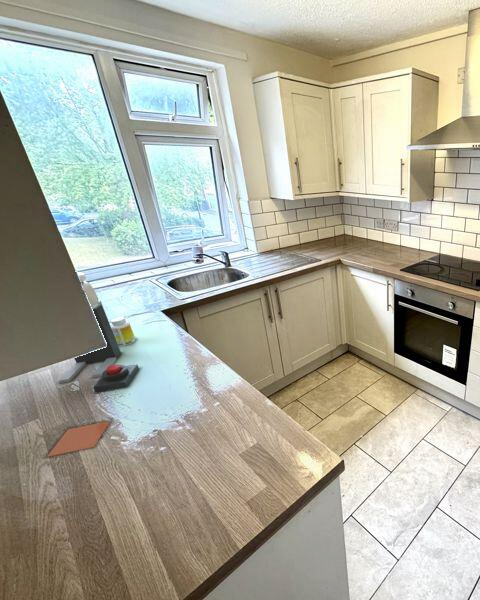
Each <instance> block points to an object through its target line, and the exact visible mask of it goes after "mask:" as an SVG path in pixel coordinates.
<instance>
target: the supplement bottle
mask: <svg viewBox="0 0 480 600" xmlns="http://www.w3.org/2000/svg"><path fill="white" fill-rule="evenodd" d="M110 322H111V324H110V326H111V329H112V331H113V334H114V336H115V339H116V341H117V344H118V346H119V347H124V346H128V345H131V344H133V343H135V342H136V337H135V334H134V332H133V331H134V330H133V329H132V325H131V324H130V322H129V321H128V320H126V318H125V317H124V316H118V317H115V318H112V319H111V320H110Z"/></svg>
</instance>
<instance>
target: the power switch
mask: <svg viewBox="0 0 480 600" xmlns="http://www.w3.org/2000/svg"><path fill="white" fill-rule="evenodd" d="M119 365H120V367H121V371H120V372H118V373H115V374H111V375H109V374H108V372H107V370H105V371H104V372H103V373H102V376H101V377H99V380H98V381H96V383H95V384H94V386H93V390H94V392H95V393H101V392H107V391H113V390H118V389H124V388H128V387H129V385H130V384H131V383H132V381H133V379H134V378H135V376H136V374H137V373H138V371H139V370H140V367H139V364H138V363H135V364H130V365H129V364H128V365H124V364H119Z"/></svg>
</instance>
